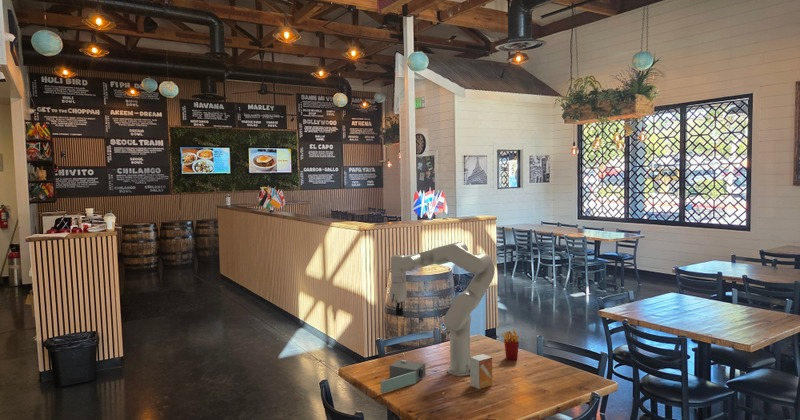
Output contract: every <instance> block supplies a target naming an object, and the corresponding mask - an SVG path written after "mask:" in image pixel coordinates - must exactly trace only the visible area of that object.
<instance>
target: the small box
mask: <svg viewBox="0 0 800 420" xmlns="http://www.w3.org/2000/svg"><path fill="white" fill-rule="evenodd" d="M469 377H470V379H469V381H470V386H471V387H473V388H476V389H478V390H482V389H485V388H487V387H491V386H493V357H492V356H489V355H487V354H485V353H481V354H477V355H476V354H475V355H474V356H470V375H469Z"/></svg>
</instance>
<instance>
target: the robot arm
mask: <svg viewBox="0 0 800 420" xmlns="http://www.w3.org/2000/svg"><path fill="white" fill-rule="evenodd" d="M448 263H452V264H454V265H455V266H457V267H459V268H460V269H461V270H464V271H466V272H468V273H469V274H472V275H474V276H473V277H472V279H471V280H470V283H469V284H468V285H467V287H466V288H465V290H463V291H462V292H460V293H459V294H458V295H457V296H456V297H455V298H454V300H453V301H452V303H451V305H450V306H449V309H448V310H447V311H446V313H445V314H444V317H443V325H444V327H445V328H446V330H448V331H449V347H450V349H449V351H450V353H449V355H450V366H448V367H447V370H446V371H447V373H448V374H449V375H451V376H457V377H464V376H465V377H466V376H470V357H471V324H472V323H471V322H472V321H471V320H472V316H471V313H472V312H473V311H474V310H475V309H477V308H478V306H479V304H480V303H481V301H482V300H483V297H484V296H485V294H486V293H487V291H488V289H489V287H490V285H491V283H492V281H493V279H494V277H495V270H496V269H495V264H494V261H493V260H492V258H491V256H490V255H488V254H487V253H482V252H480V253H476V254H472V253H471V252H469V248H468V245H467V244H466V243H465V242H461V241H457V242H453V243H449V244H445V245H442V246H437V247H435V248H432V249H429V250H425V251H421V252H417V253H414V254H411V255H407V256H405V255H403V254H393V255H392V256H391V257H390V277H391V280H390V281H391V283H390V292H389V294H390V295H389V299H390V300H389V301H390V303H392V305H393V306H394V307H395V314H396V315H395V316H401V317H402V316H404V304H405V302H406V300H407V298H408V293H407V292H408V290H407V272H413V271H415V270H417V269H420V268H421V269H422V268H424V267H428V266H432V265H438V266H440V265H444V264H448Z"/></svg>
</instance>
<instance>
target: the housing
mask: <svg viewBox="0 0 800 420" xmlns="http://www.w3.org/2000/svg"><path fill="white" fill-rule="evenodd" d="M414 371H416V383H415V384H417V383H418V382H420V381H421V380H422V379H423V378H424V377H425V378H426V375H427V373H426V372H427V371H426V363H425V362H419V361H413V360H407V359H401V358H399V359H397V360H396V361H395V362H393V363H391V364H390V365H389V379H391V378H394V377H397V376H401V375H404V374H407V373H411V372H414Z"/></svg>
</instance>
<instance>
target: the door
mask: <svg viewBox="0 0 800 420" xmlns="http://www.w3.org/2000/svg"><path fill="white" fill-rule="evenodd" d="M414 384H417V383H416V371H414V372H411V373H407V374H404V375H401V376H397V377H394V378H387V379H384V380H380V393H381V394H385V393H386V394H387V393H388V392H392V391H394V390H398V389H401V388H404V387H407V386H410V385H414Z"/></svg>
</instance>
